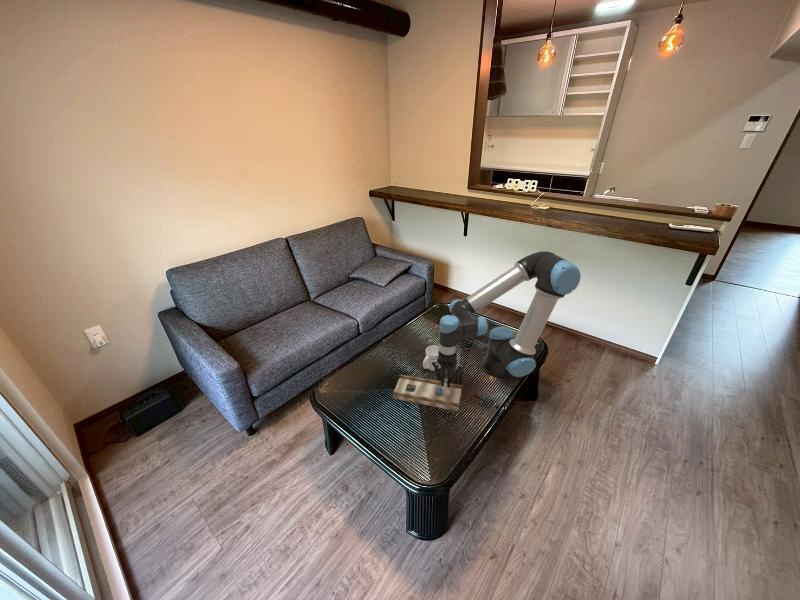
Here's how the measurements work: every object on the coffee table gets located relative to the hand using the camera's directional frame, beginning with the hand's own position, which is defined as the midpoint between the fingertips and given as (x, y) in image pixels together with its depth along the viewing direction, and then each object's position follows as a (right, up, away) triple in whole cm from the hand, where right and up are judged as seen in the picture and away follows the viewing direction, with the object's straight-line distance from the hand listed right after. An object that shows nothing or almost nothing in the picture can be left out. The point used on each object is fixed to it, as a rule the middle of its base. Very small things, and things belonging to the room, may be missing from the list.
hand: (445, 391), depth 137 cm
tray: (-8, -3, +4) cm, 9 cm away
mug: (-4, +6, +21) cm, 22 cm away
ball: (-3, 0, +1) cm, 3 cm away
